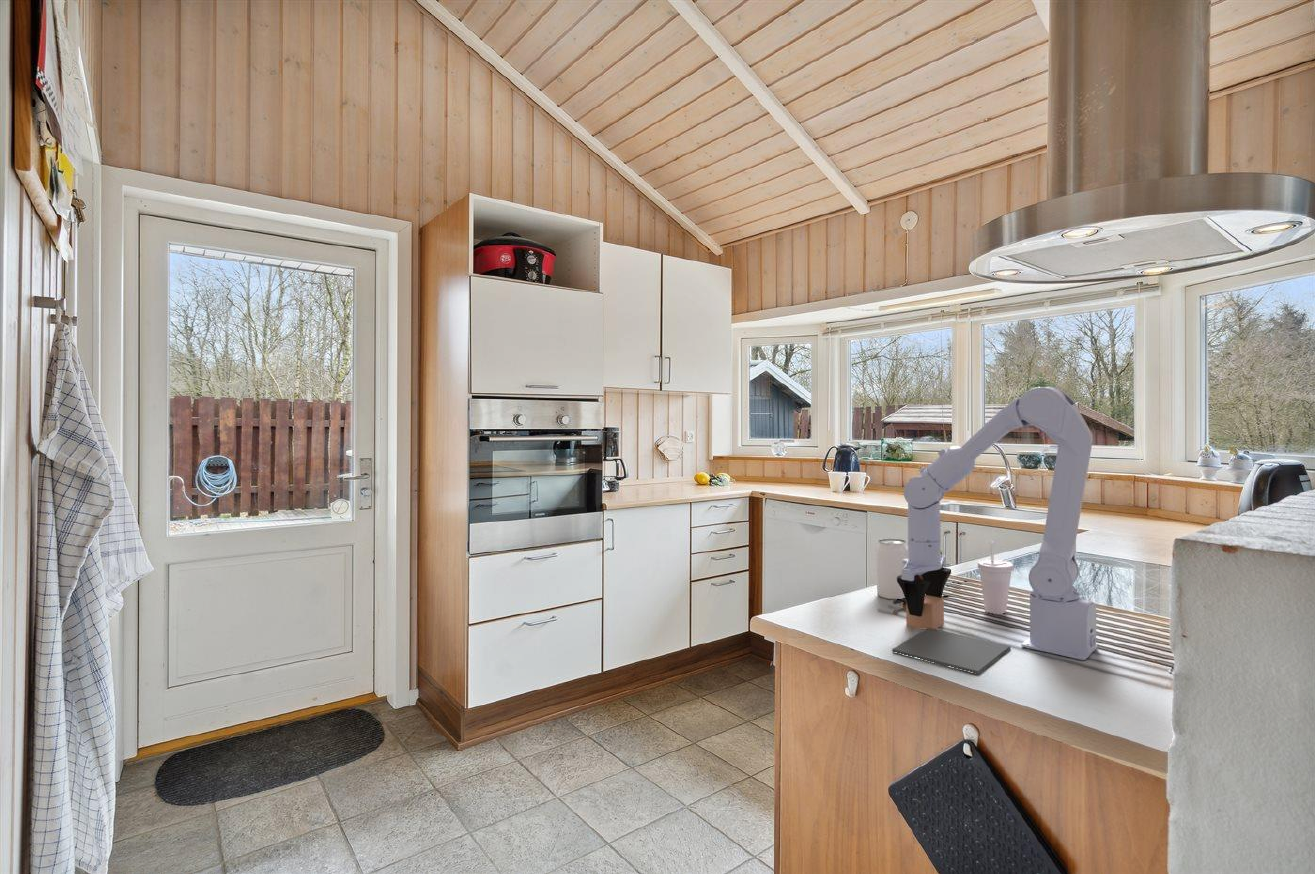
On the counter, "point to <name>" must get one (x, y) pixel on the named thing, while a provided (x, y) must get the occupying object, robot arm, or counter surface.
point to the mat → (952, 650)
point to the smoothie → (995, 583)
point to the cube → (928, 614)
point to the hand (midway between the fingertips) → (924, 610)
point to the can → (890, 567)
